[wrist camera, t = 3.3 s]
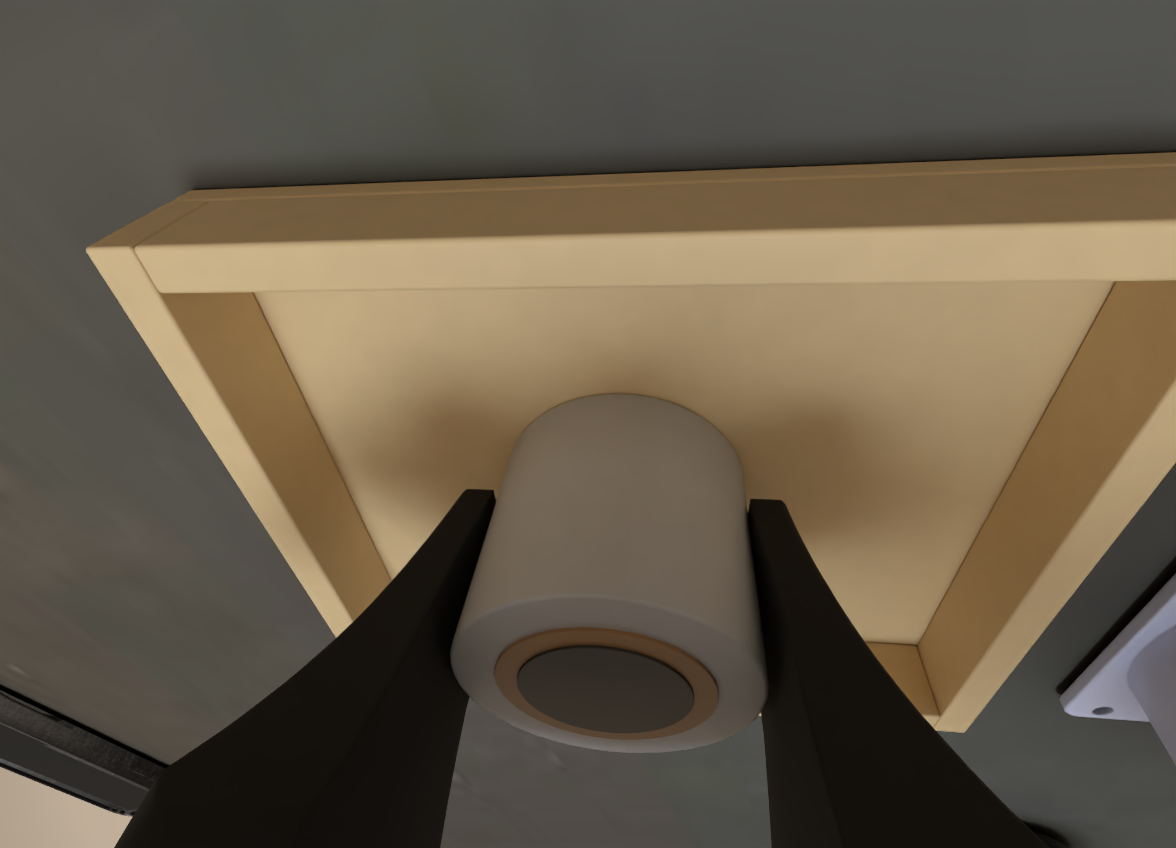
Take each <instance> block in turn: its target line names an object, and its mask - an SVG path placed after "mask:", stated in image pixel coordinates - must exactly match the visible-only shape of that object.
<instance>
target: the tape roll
mask: <svg viewBox="0 0 1176 848" xmlns="http://www.w3.org/2000/svg"><path fill="white" fill-rule="evenodd" d="M450 658H451V667H452V670H453V673H454V676H455V677H456V679H457V681H458V683H459V685H460V686H461V687H462V688H463V690H464V691H465V692H466V693H467V694H468V695H469V696H470V697H471V698H472V699H473V700H474V701H475V702H476V703H477V704H479V705H480V706H481V707H483V708H484V709H485V710H487V711H488V712H490V713H491V714H493V715H494V716H496V717H498V718H499V719H501V720H503V721H505V722H507V723H509V724H511V725H513V726H515V727H517V728H520V729H522V730H525V731H527V732H529V733H532V734H535V735H538V736H541V737H544V738H547V739H550V740H554V741H557V742H561V743H565V744H569V745H574V746H578V747H584V748H590V749H596V750H604V751H613V752H628V753H653V752H668V751H678V750H685V749H690V748H696V747H700V746H704V745H708V744H711V743H714V742H717V741H720V740H723V739H725V738H727V737H730V736H732V735H734V734H736V733H738V732H739V731H741V730H742V729H744V728H745V727H747V726H748V725H749V724H750V723H752V722H753V721H754V720H755V719H756V718H757V717H758V715H759V714H760V713H761V711H762V710H763V708H764V705H765V703H766V700H767V697H768V690H769V683H768V675H767V667H766V658H765V650H764V642H763V633H762V625H761V617H760V609H759V600H758V592H757V584H756V575H755V568H754V560H753V552H752V544H751V535H750V527H749V519H748V509H747V501H746V492H745V484H744V477H743V470H742V466H741V464H740V461H739V458H738V456H737V454H736V452H735V451H734V449H733V447H732V446H731V444H730V443H729V442H728V441H727V439H726V438H725V437H724V436H723V434H722V433H720V432H719V431H718V430H717V429H716V428H715V427H714V426H713V425H712V424H710V423H709V422H708V421H706V420H705V419H703V418H702V417H701V416H699V415H697V414H695V413H694V412H692V411H690V410H688V409H686V408H684V407H681V406H679V405H676V404H674V403H671V402H668V401H665V400H661V399H658V398H654V397H648V396H642V395H635V394H620V393H619V394H600V395H594V396H587V397H583V398H579V399H575V400H572V401H569V402H566V403H564V404H561V405H559V406H556V407H555V408H553V409H551V410H549V411H547V412H546V413H544V414H542V415H541V416H540V417H539V418H537V419H536V420H535V421H533V422H532V423H531V424H530V425H529V426H528V427H527V428H526V429H525V430H524V431H523V433H522V434H521V436H520V437H519V439H518V440H517V441H516V444H515V446H514V448H513V450H512V453H511V456H510V459H509V462H508V466H507V469H506V472H505V475H504V478H503V482H502V485H501V488H500V491H499V494H498V498H497V501H496V504H495V507H494V510H493V514H492V517H491V520H490V523H489V526H488V530H487V533H486V536H485V539H484V542H483V546H482V549H481V552H480V555H479V558H478V562H477V565H476V568H475V571H474V574H473V578H472V581H471V584H470V587H469V590H468V594H467V597H466V600H465V603H464V606H463V610H462V613H461V616H460V619H459V622H458V626H457V629H456V632H455V635H454V638H453V642H452V646H451V651H450Z"/></svg>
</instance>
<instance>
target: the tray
mask: <svg viewBox="0 0 1176 848" xmlns="http://www.w3.org/2000/svg"><path fill="white" fill-rule="evenodd" d="M86 252H87V253H88V255H89V257H90V258H91V260H92V261H93V263H94V264H95V266H96V267H97V269H98V270H99V272H100V274H101V275H102V277H103V278H104V280H105V281H106V283H107V284H108V286H109V287H110V289H111V291H112V292H113V294H114V295H115V297H116V298H117V300H118V301H119V303H120V304H121V306H122V308H123V309H124V311H125V312H126V314H127V315H128V317H129V318H130V320H131V321H132V323H133V325H134V326H135V328H136V329H137V331H138V332H139V334H140V335H141V337H142V338H143V340H144V342H145V343H146V345H147V346H148V348H149V349H150V351H151V352H152V354H153V355H154V357H155V359H156V360H157V362H158V363H159V365H160V366H161V368H162V369H163V371H164V372H165V374H166V375H167V377H168V379H169V380H170V382H171V383H172V385H173V386H174V388H175V389H176V391H177V392H178V394H179V396H180V397H181V399H182V400H183V402H184V403H185V405H186V406H187V408H188V409H189V411H190V413H191V414H192V416H193V417H194V419H195V420H196V422H197V423H198V425H199V426H200V428H201V430H202V431H203V433H204V434H205V436H206V437H207V439H208V440H209V442H210V443H211V445H212V447H213V448H214V450H215V451H216V453H217V454H218V456H219V457H220V459H221V460H222V462H223V464H224V465H225V467H226V468H227V470H228V471H229V473H230V474H231V476H232V477H233V479H234V481H235V482H236V484H237V485H238V487H239V488H240V490H241V491H242V493H243V494H244V496H245V497H246V499H247V501H248V502H249V504H250V505H251V507H252V508H253V510H254V511H255V513H256V514H257V516H258V518H259V519H260V521H261V522H262V524H263V525H264V527H265V528H266V530H267V531H268V533H269V535H270V536H271V538H272V539H273V541H274V542H275V544H276V545H277V547H278V548H279V550H280V552H281V553H282V555H283V556H284V558H285V559H286V561H287V562H288V564H289V565H290V567H291V569H292V570H293V572H294V573H295V575H296V576H297V578H298V579H299V581H300V582H301V584H302V586H303V587H304V589H305V590H306V592H307V593H308V595H309V596H310V598H311V599H312V601H313V603H314V604H315V606H316V607H317V609H318V610H319V612H320V613H321V615H322V616H323V618H324V619H325V621H326V623H327V624H328V626H329V627H330V629H331V630H332V632H333V633H334V635H335V636H336V638H337V637H338V636H339V635H340V634H341V633H342V632H343V631H344V630H345V629H346V628H347V627H348V626H349V625H350V624H351V623H352V622H353V621H354V620H355V619H356V618H357V617H358V616H359V615H360V614H361V613H362V612H363V611H364V610H365V609H366V608H367V607H368V606H369V605H370V604H371V603H372V602H373V601H374V600H375V599H376V598H377V596H378V595H379V594H380V593H381V592H382V591H383V590H384V589H385V588H386V587H387V585H388V584H389V583H390V582H391V581H392V580H393V579H394V578H395V577H396V575H397V574H398V573H399V572H400V571H401V570H402V569H403V567H404V566H405V565H406V564H407V563H408V561H409V560H410V559H411V558H412V557H413V555H414V554H415V553H416V552H417V551H418V549H419V548H420V547H421V546H422V545H423V543H424V542H425V541H426V540H427V538H428V537H429V536H430V535H431V533H432V532H433V531H434V529H435V528H436V527H437V526H438V524H439V523H440V522H441V520H442V519H443V518H444V517H445V515H446V514H447V513H448V511H449V510H450V509H451V507H452V506H453V505H454V503H455V502H456V501H457V499H458V498H459V497H460V495H461V494H462V493H463V492H464V491H465V490H466V489H485V490H494V494H495V498H496V501H497V498H498V494H499V491H500V488H501V485H502V482H503V478H504V475H505V472H506V469H507V466H508V462H509V459H510V456H511V453H512V450H513V448H514V446H515V444H516V441H517V440H518V439H519V437H520V436H521V434H522V433H523V431H524V430H525V429H526V428H527V427H528V426H529V425H530V424H531V423H532V422H533V421H535V420H536V419H537V418H539V417H540V416H541V415H542V414H544V413H546V412H547V411H549V410H551V409H553V408H555V407H556V406H559V405H561V404H564V403H566V402H569V401H572V400H575V399H579V398H583V397H587V396H594V395H600V394H619V393H620V394H635V395H642V396H648V397H654V398H658V399H661V400H665V401H668V402H671V403H674V404H676V405H679V406H681V407H684V408H686V409H688V410H690V411H692V412H694V413H695V414H697V415H699V416H701V417H702V418H703V419H705V420H706V421H708V422H709V423H710V424H712V425H713V426H714V427H715V428H716V429H717V430H718V431H719V432H720V433H722V434H723V436H724V437H725V438H726V439H727V441H728V442H729V443H730V444H731V446H732V447H733V449H734V451H735V452H736V454H737V456H738V458H739V461H740V464H741V466H742V470H743V477H744V484H745V492H746V501H747V509H748V510H749V504H750V499H773V500H782V501H783V502H784V503H785V504H786V506H787V508H788V511H789V513H790V515H791V517H792V520H793V522H794V524H795V526H796V528H797V530H798V532H799V534H800V536H801V538H802V540H803V542H804V544H805V546H806V548H807V549H808V551H809V553H810V555H811V557H812V559H813V561H814V562H815V564H816V566H817V568H818V569H819V571H820V573H821V574H822V576H823V578H824V579H825V581H826V583H827V584H828V586H829V588H830V589H831V591H832V593H833V594H834V596H835V598H836V599H837V601H838V602H839V604H840V606H841V607H842V609H843V610H844V612H845V613H846V615H847V616H848V618H849V619H850V621H851V622H852V624H853V625H854V627H855V628H856V630H857V631H858V633H859V634H860V636H861V637H862V638H863V640H864V641H865V643H866V644H867V645H868V647H869V648H870V650H871V651H872V652H873V654H874V655H875V656H876V658H877V659H878V661H879V662H880V663H881V665H882V666H883V667H884V668H885V670H886V671H887V672H888V674H889V675H890V676H891V677H892V679H893V680H894V681H895V683H896V684H897V685H898V686H899V688H900V689H901V690H902V691H903V693H904V694H905V695H906V696H907V697H908V699H909V700H910V701H911V702H912V704H913V705H914V706H915V707H916V708H917V710H918V711H919V712H920V713H921V714H922V716H923V717H924V718H925V719H926V720H927V721H928V722H929V724H930V725H931V726H932V727H933V728H934V729H935V730H937V731H949V732H961V733H964V732H965V731H966V730H967V729H968V727H969V726H970V725H971V724H972V722H973V721H974V720H975V719H976V717H977V716H978V715H979V713H980V712H981V711H982V710H983V708H984V707H985V706H986V704H987V703H988V702H989V701H990V699H991V698H992V697H993V696H994V694H995V693H996V692H997V690H998V689H999V688H1000V687H1001V685H1002V684H1003V683H1004V681H1005V680H1006V679H1007V678H1008V676H1009V675H1010V674H1011V673H1012V671H1013V670H1014V669H1015V667H1016V666H1017V665H1018V664H1019V662H1020V661H1021V660H1022V658H1023V657H1024V656H1025V655H1026V653H1027V652H1028V651H1029V650H1030V648H1031V647H1032V646H1033V644H1034V643H1035V642H1036V641H1037V639H1038V638H1039V637H1040V635H1041V634H1042V633H1043V632H1044V630H1045V629H1046V628H1047V626H1048V625H1049V624H1050V623H1051V621H1052V620H1053V619H1054V618H1055V616H1056V615H1057V614H1058V612H1059V611H1060V610H1061V609H1062V607H1063V606H1064V605H1065V603H1066V602H1067V601H1068V600H1069V598H1070V597H1071V596H1072V595H1073V593H1074V592H1075V591H1076V589H1077V588H1078V587H1079V586H1080V584H1081V583H1082V582H1083V580H1084V579H1085V578H1086V577H1087V575H1088V574H1089V573H1090V572H1091V570H1092V569H1093V568H1094V566H1095V565H1096V564H1097V563H1098V561H1099V560H1100V559H1101V557H1102V556H1103V555H1104V554H1105V552H1106V551H1107V550H1108V549H1109V547H1110V546H1111V545H1112V543H1113V542H1114V541H1115V540H1116V538H1117V537H1118V536H1119V534H1120V533H1121V532H1122V531H1123V529H1124V528H1125V527H1126V526H1127V524H1128V523H1129V522H1130V520H1131V519H1132V518H1133V517H1134V515H1135V514H1136V513H1137V511H1138V510H1139V509H1140V508H1141V506H1142V505H1143V504H1144V503H1145V501H1146V500H1147V499H1148V497H1149V496H1150V495H1151V494H1152V492H1153V491H1154V490H1155V488H1156V487H1157V486H1158V485H1159V483H1160V482H1161V481H1162V480H1163V478H1164V477H1165V476H1166V474H1167V473H1168V472H1169V471H1170V469H1171V468H1172V467H1173V465H1174V464H1175V463H1176V152H1172V153H1146V154H1121V155H1095V156H1069V157H1043V158H1017V159H991V160H965V161H939V162H913V163H888V164H862V165H836V166H810V167H784V168H758V169H732V170H706V171H680V172H655V173H629V174H603V175H577V176H551V177H525V178H499V179H473V180H447V181H422V182H396V183H370V184H344V185H318V186H292V187H266V188H240V189H214V190H191V191H189V192H187V193H185V194H184V195H182V196H180V197H178V198H176V199H175V200H173V201H172V202H169V203H167V204H165V205H163V206H161V207H159V208H158V209H156V210H154V211H152V212H150V213H148V214H147V215H145V216H143V217H141V218H139V219H138V220H136V221H134V222H132V223H130V224H128V225H127V226H125V227H123V228H121V229H119V230H118V231H116V232H114V233H112V234H110V235H108V236H107V237H105V238H103V239H101V240H99V241H97V242H96V243H94V244H92V245H90V246H88V247H87V248H86ZM758 716H761V713H760V714H759V715H758Z"/></svg>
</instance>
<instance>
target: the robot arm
mask: <svg viewBox="0 0 1176 848" xmlns="http://www.w3.org/2000/svg"><path fill="white" fill-rule="evenodd" d="M495 504H496V498H495V494H494V490H485V489H466V490H465V491H464V492H463V493H462V494H461V495H460V497H459V498H458V499H457V501H456V502H455V503H454V505H453V506H452V507H451V509H450V510H449V511H448V513H447V514H446V515H445V517H444V518H443V519H442V520H441V522H440V523H439V524H438V526H437V527H436V528H435V529H434V531H433V532H432V533H431V535H430V536H429V537H428V538H427V540H426V541H425V542H424V543H423V545H422V546H421V547H420V548H419V549H418V551H417V552H416V553H415V554H414V555H413V557H412V558H411V559H410V560H409V561H408V563H407V564H406V565H405V566H404V567H403V569H402V570H401V571H400V572H399V573H398V574H397V575H396V577H395V578H394V579H393V580H392V581H391V582H390V583H389V584H388V585H387V587H386V588H385V589H384V590H383V591H382V592H381V593H380V594H379V595H378V596H377V598H376V599H375V600H374V601H373V602H372V603H371V604H370V605H369V606H368V607H367V608H366V609H365V610H364V611H363V612H362V613H361V614H360V615H359V616H358V617H357V618H356V619H355V620H354V621H353V622H352V623H351V624H350V625H349V626H348V627H347V628H346V629H345V630H344V631H343V632H342V633H341V634H340V635H339V636H338V637H337V638H336V639H335V640H334V641H332V642H331V643H330V644H329V645H328V646H327V647H326V648H325V649H324V650H322V651H321V652H320V653H319V654H318V655H317V656H316V657H314V658H313V659H312V660H311V661H310V662H309V663H308V664H307V665H305V666H304V667H303V668H302V669H301V670H300V671H298V672H297V673H296V674H295V675H294V676H292V677H291V678H290V679H289V680H288V681H286V682H285V683H284V684H283V685H281V686H280V687H279V688H277V689H276V690H275V691H274V692H272V693H271V694H270V695H268V696H267V697H266V698H265V699H263V700H262V701H261V702H259V703H258V704H257V705H255V706H254V707H253V708H252V709H250V710H249V711H248V712H246V713H245V714H244V715H242V716H241V717H240V718H238V719H237V720H236V721H234V722H233V723H232V724H230V725H229V726H227V727H226V728H225V729H223V730H222V731H220V732H219V733H217V734H216V735H214V736H213V737H211V738H210V739H209V740H207V741H206V742H204V743H203V744H201V745H200V746H198V747H197V748H195V749H194V750H192V751H191V752H189V753H188V754H187V755H185V756H184V757H182V758H181V759H179V760H178V761H176V762H175V763H173V764H172V765H170V766H168V767H167V768H165V769H164V770H162V771H161V773H160V774H159V776H158V777H157V779H156V780H155V782H154V783H153V785H152V786H151V788H150V789H149V791H148V792H147V794H146V796H145V797H144V799H143V801H142V802H141V804H140V806H139V807H138V809H137V811H136V812H135V814H134V816H133V817H132V819H131V821H130V822H129V824H128V826H127V827H126V829H125V831H124V833H123V834H122V836H121V838H120V839H119V841H118V842H117V844H116V846H115V847H114V848H440V845H441V839H442V833H443V827H444V821H445V816H446V810H447V804H448V798H449V793H450V788H451V782H452V777H453V772H454V766H455V761H456V756H457V751H458V746H459V741H460V736H461V731H462V726H463V722H464V717H465V712H466V708H467V704H468V700H469V695H468V694H467V693H466V692H465V691H464V690H463V688H462V687H461V686H460V685H459V683H458V681H457V679H456V677H455V676H454V673H453V670H452V667H451V658H450V651H451V646H452V642H453V638H454V635H455V632H456V629H457V626H458V622H459V619H460V616H461V613H462V610H463V606H464V603H465V600H466V597H467V594H468V590H469V587H470V584H471V581H472V578H473V574H474V571H475V568H476V565H477V562H478V558H479V555H480V552H481V549H482V546H483V542H484V539H485V536H486V533H487V530H488V526H489V523H490V520H491V517H492V514H493V510H494V507H495ZM748 519H749V527H750V535H751V544H752V552H753V560H754V568H755V575H756V584H757V592H758V600H759V609H760V617H761V625H762V633H763V642H764V650H765V658H766V667H767V675H768V683H769V690H768V697H767V700H766V703H765V705H764V708H763V710H762V711H761V716H762V724H763V732H764V742H765V755H766V768H767V781H768V796H769V810H770V825H771V840H772V848H1049V847H1048V846H1047V845H1046V844H1045V843H1044V842H1043V841H1042V840H1041V839H1040V838H1039V837H1037V836H1036V835H1035V834H1034V833H1033V832H1032V831H1031V830H1030V829H1029V828H1028V827H1027V826H1026V825H1025V824H1024V823H1023V822H1022V821H1021V820H1020V819H1019V818H1018V817H1017V816H1016V815H1015V814H1014V813H1013V812H1012V811H1011V810H1010V809H1009V808H1008V807H1007V806H1006V805H1005V804H1004V803H1003V802H1002V801H1001V800H1000V799H999V798H998V797H997V796H996V795H995V794H994V793H993V792H992V791H991V790H990V789H989V788H988V787H987V786H986V785H985V784H984V783H983V782H982V781H981V779H980V778H979V777H978V776H977V775H976V774H975V773H974V772H973V771H972V770H971V769H970V768H969V767H968V766H967V765H966V764H965V763H964V761H963V760H962V759H961V758H960V757H959V756H958V755H957V754H956V753H955V751H954V750H953V749H952V748H951V747H950V746H949V745H948V744H947V742H946V741H945V740H944V739H943V738H942V737H941V736H940V735H939V734H938V732H937V731H936V730H935V729H934V728H933V727H932V726H931V725H930V724H929V722H928V721H927V720H926V719H925V718H924V717H923V716H922V714H921V713H920V712H919V711H918V710H917V708H916V707H915V706H914V705H913V704H912V702H911V701H910V700H909V699H908V697H907V696H906V695H905V694H904V693H903V691H902V690H901V689H900V688H899V686H898V685H897V684H896V683H895V681H894V680H893V679H892V677H891V676H890V675H889V674H888V672H887V671H886V670H885V668H884V667H883V666H882V665H881V663H880V662H879V661H878V659H877V658H876V656H875V655H874V654H873V652H872V651H871V650H870V648H869V647H868V645H867V644H866V643H865V641H864V640H863V638H862V637H861V636H860V634H859V633H858V631H857V630H856V628H855V627H854V625H853V624H852V622H851V621H850V619H849V618H848V616H847V615H846V613H845V612H844V610H843V609H842V607H841V606H840V604H839V602H838V601H837V599H836V598H835V596H834V594H833V593H832V591H831V589H830V588H829V586H828V584H827V583H826V581H825V579H824V578H823V576H822V574H821V573H820V571H819V569H818V568H817V566H816V564H815V562H814V561H813V559H812V557H811V555H810V553H809V551H808V549H807V548H806V546H805V544H804V542H803V540H802V538H801V536H800V534H799V532H798V530H797V528H796V526H795V524H794V522H793V520H792V517H791V515H790V513H789V511H788V508H787V506H786V504H785V503H784V502H783V501H782V500H773V499H750V504H749V510H748ZM1059 701H1060V703H1061V705H1062V707H1063V709H1064V711H1065V712H1066V713H1068V714H1070V715H1073V716H1080V717H1093V718H1106V719H1119V720H1132V721H1145V722H1150V723H1151V724H1152V726H1153V728H1154V729H1155V731H1156V733H1157V734H1158V736H1159V738H1160V740H1161V741H1162V743H1163V745H1164V746H1165V748H1166V750H1167V751H1168V753H1169V755H1170V756H1171V758H1172V760H1173V761H1174V763H1175V765H1176V574H1175V575H1174V576H1173V577H1172V578H1171V579H1170V580H1169V581H1168V582H1167V583H1166V584H1165V585H1164V586H1163V587H1162V588H1161V590H1160V591H1159V592H1158V593H1157V594H1156V595H1155V596H1154V597H1153V598H1152V599H1151V600H1150V601H1149V602H1148V603H1147V604H1146V606H1145V607H1144V608H1143V609H1142V610H1141V611H1140V612H1139V613H1138V614H1137V615H1136V616H1135V617H1134V618H1133V619H1132V620H1131V621H1130V623H1129V624H1128V625H1127V626H1126V627H1125V628H1124V629H1123V630H1122V631H1121V632H1120V633H1119V634H1118V635H1117V636H1116V637H1115V639H1114V640H1113V641H1112V642H1111V643H1110V644H1109V645H1108V646H1107V647H1106V648H1105V649H1104V650H1103V651H1102V652H1101V653H1100V655H1099V656H1098V657H1097V658H1096V659H1095V660H1094V661H1093V662H1092V663H1091V664H1090V665H1089V666H1088V667H1087V668H1086V669H1085V671H1084V672H1083V673H1082V674H1081V675H1080V676H1079V677H1078V678H1077V679H1076V680H1075V681H1074V682H1073V683H1072V684H1071V685H1070V687H1069V688H1068V689H1067V690H1066V691H1065V692H1064V693H1063V694H1062V695H1061V696H1060V699H1059Z"/></svg>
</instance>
